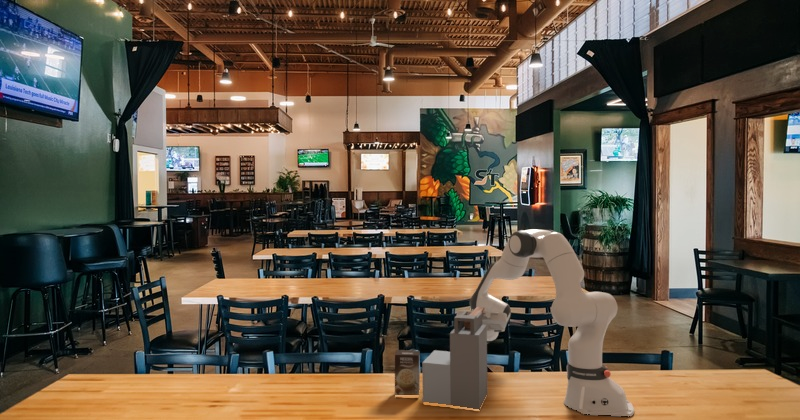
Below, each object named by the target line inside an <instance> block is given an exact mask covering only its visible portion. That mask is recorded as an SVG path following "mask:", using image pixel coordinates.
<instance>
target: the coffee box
mask: <svg viewBox="0 0 800 420" xmlns="http://www.w3.org/2000/svg"><path fill="white" fill-rule="evenodd" d="M420 359H421V357H420V350H407V349H406V350H405V349H396V350H395V351H394V396H395V395H419V396H420V394H419V390H420V389H421V388H420V387H421V386H420V384H421V383H420V382H421V381H420V378H421V377H420V370H421V367H420V365H421V364H420V363H421V360H420Z"/></svg>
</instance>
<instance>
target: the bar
mask: <svg viewBox="0 0 800 420" xmlns="http://www.w3.org/2000/svg"><path fill="white" fill-rule="evenodd" d="M483 310H484V307H476V308H475V309H474V311H473V312H472V313H471V314H470V315H472V316H476V315H477V314H478V313H479V312H482V317H483ZM465 328H469V329H471V328H470V321H465Z"/></svg>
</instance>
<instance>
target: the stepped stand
mask: <svg viewBox="0 0 800 420" xmlns="http://www.w3.org/2000/svg"><path fill="white" fill-rule="evenodd" d="M463 311H464V312H463V313H462V314H461V315H457V314H456V315H455V316H454V319H453V321H454V322H453V324H454V326H453V327H454V328H453V329H452V330H451V331H450V333H449V351H447V350H437V349H435V350H433V351H432V352H431V353H430V354H429V355H428V356H427V357H426V358H425V359H424V360H423V361H422V368H421V371H422V375H421V376H422V403H423V402H429V403H438V404H446V405H453V406H460V407H467V408H473V409H479V410H480V407H481V405H482V403H483V401H484V399H485V397H486V395H487V396H488V343H487V342H488V341H487V325H482V312H479V313H478V314H477V315H476V316H472V315H467V311H468V310H463ZM465 321H470V328H471V329H469V328H465ZM486 398H487V397H486ZM485 400H486V399H485ZM484 402H485V401H484ZM480 411H481V410H480Z"/></svg>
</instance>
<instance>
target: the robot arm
mask: <svg viewBox="0 0 800 420" xmlns="http://www.w3.org/2000/svg"><path fill="white" fill-rule="evenodd" d="M530 258H537V259H539V258H543V260H544V262H545V265H546V267H547V269H548V271H549V274H550V276H551V278H552V280H553V283H554V286H555V287H554V288H555V298H554V300H553V302H552V304H551V308H550V311H551V316H552V318H553V320H554V321H555V323H556V324H558V325H559V326H563V327H570V328H571V327H572V328H574V327H577V328H576V330H575V332H574V334H572V336H571V337H570V338H569V340H568V347H567V348H568V353H567V354H568V356H567V357H568V362H567V364H566V377H567V387H566V393H565V396H564V399H563V404H564V405H565V406H566V407H567V406H568V407H567V408H569V409H571V408H572V409H571V410H574V411H576V410H577V411H576V412H578V413H580V412H581V414H582V413H583V414H582V415H584V414H587V415H586V416H598V415H611V416H610V417H621V416H628V418H629V416H630V417H632V416H633V415H634V413H635V408H634V405H633V404H632V402H630V400H627V396H626V395H627V394H626V392H625V390H624V388H623V387H622V386H621V385H620V384H618V383H617V382H615V380H613V379H612V378H611V371H610V370H609V367H608V366H607V365H604V364H603V346H604V345H603V344H604V339H605V335H606V331H607V329H608V327H609V325H610V323H611V322H612V320H614V318H615V317H616V316H617V313H618V311H619V310H618V309H619V308H618V303H617V301H616V299H615V297H614V295H612V294H611V293H608V292H604V291H603V292H602V291H588V292H584V291H583V290H582V287H581V282H582V281H583V280H584V277H585V270H584V268H583V266H582V264H581V262H580V260H579V259H578V256H577V254H576V252H575V250H574V249H573V247H572V245H571V244H570V242H569V241H568V239H567V238H566V237H565V236H564V234H562V233H560V232H557V231H555V230H552V229H536V228H531V229H525V230H523V229H520V230H517V231H516V230H515V231H514V232H513V233H511V235H510V236H509V238H508V240H507V242H506V244H505V246H504V248H503V251H502V253H501V256H500V258H499V260H498V261H493V262H492V263H491V264H490V265H489V266H488V268H487V269H486V271H485V273H484V275H483V276H482V278H481V280H480V283H479V284H478V286H477V287H476V289H475V291H474V293H472V295H471V297H470V299H469V306H470V309H471V310H466V311H467V315H470V314H471V313H472V312H473V311H474V309H475V308H476V307H484V310H483V317H482V325H487V342H492V341H494V340H496V339H497V338H498V336H499V333H502V332H505V330H506V327H507V325H508V323H509V321H510V319H511V318H512V316H511V315H512V309H511V307H510V304H508V303H507V302H504V301H503V300H501V299H499V298H497V297H495V296H494V295H492V294H490V293H489V289H490V287H491V285H492V284H493V282H494V280H500V279H501V280H505V281H514V280H516V279H519V278H521V277H522V276H524V274H525V272H526V269H527V268H528V264H529V262H530V261H529V260H530ZM464 311H465V310H461V309H460V310H457V311H456V316H457V315H461V314H462V313H463V312H464ZM588 414H590V415H588Z"/></svg>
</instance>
